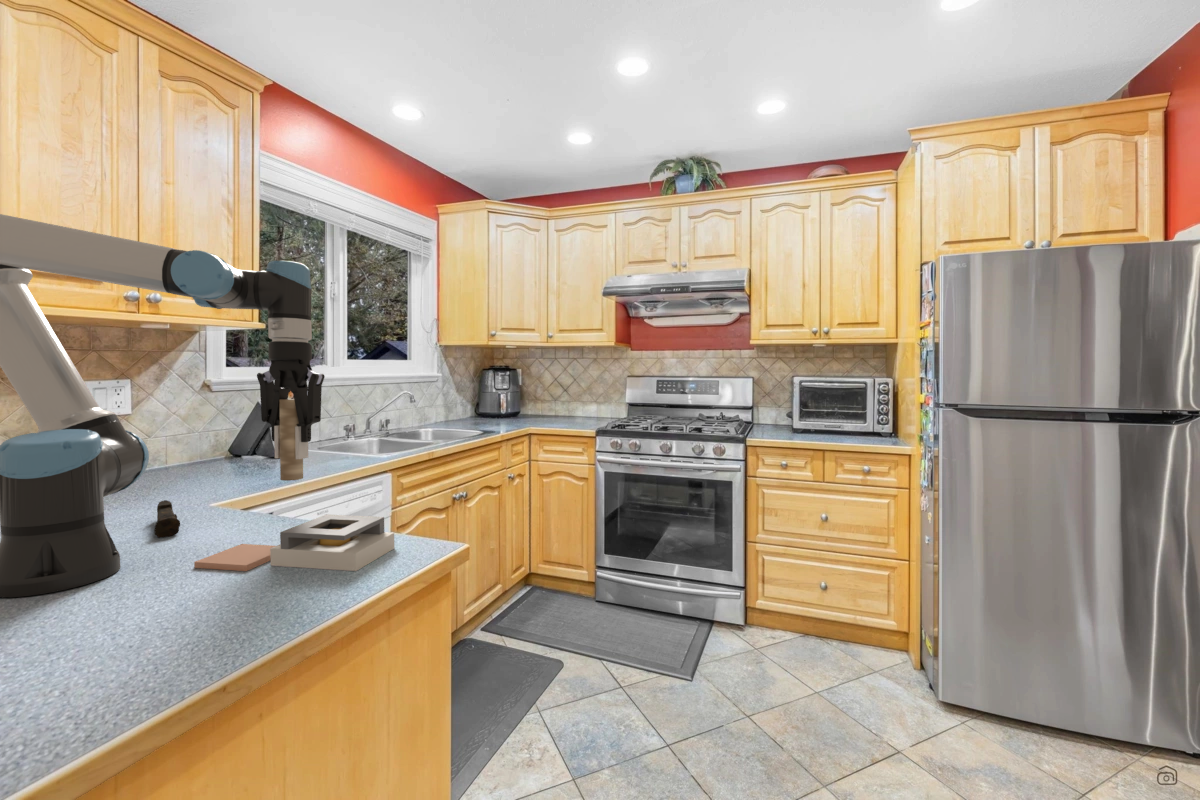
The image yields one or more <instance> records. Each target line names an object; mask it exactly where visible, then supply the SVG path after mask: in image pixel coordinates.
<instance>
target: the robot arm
mask: <svg viewBox="0 0 1200 800" xmlns="http://www.w3.org/2000/svg"><path fill="white" fill-rule="evenodd" d="M266 265H267V266H266V268H265V270H250V269H249V270H248V269H237V268H235V267H233V266H232V265H231V264H229V263H227V262H226V261H225V260H224V259H223V258H221V257H219V256H217V255H216V254H213V253H210V252H208V251H203V250H197V249H194V250H192V249H191V250H185V249H184V250H183V249H175V248H174V247H168V246H163V245H158V244H153V243H148V242H143V241H139V240H133V239H128V238H124V237H119V236H118V237H117V236H112V235H108V234H102V233H97V232H93V231H92V232H91V231H88V230H82V229H77V228H72V227H67V226H63V225H59V224H58V225H57V224H52V223H47V222H44V221H43V222H42V221H36V220H32V219H28V218H21V217H17V216H13V215H7V214H3V213H0V369H1V370H2V371H3V373H4V375H5V377H6V378H7V380H8V381H9V383H10V384H11V386H12V387H13V389H14V390H15V392H16V394H17V395H18V397H19V398H20V401H21V402H22V403H23V405H24V406H25V408H26V410H27V411H28V413H29V415H30V416H31V418H32V420H33V421H34V423H35V424H36V426H37V427H38V429H37V432H30V433H26V434H25V433H24V434H21V435H17V436H13V437H10V438H8V439H6V440H4V441H3V442H2V443H1V444H0V598H20V597H29V596H30V597H31V596H38V595H44V594H50V593H51V594H52V593H56V592H60V591H66V590H70V589H74V588H77V587H81V586H85V585H88V584H89V585H90V584H91V583H95V582H98V581H100V580H103V579H106V578H108V577H110V576H112V575H114V574H115V573H117V572H119V570H120V569H121V556H120V552H119V550H118V549H117V547H116V545H115V542H114V540H113V538H112V537H111V534H110V532H109V531H108V529H107V527H106V524H105V512H104V511H105V507H104V506H105V505H104V504H105V503H104V498H105V497H106V496H107V497H108V496H110V495H114V494H117V493H118V492H122V491H124V490H126V489H127V488H129V487H130V486H131V485H133V484H134V483H136V482H137V481H138V480H139V479H140V478H142V476H143V474H144V473H145V472H146V470H147V468H148V466H149V460H150V454H149V449H148V447H147V445H146V443H145V442H144V440H143V439H142V438H140V436H139V435H138V434H136V433H134V432H131V431H129V430H127V429H125V427H124V425H123V424H122V423H121V421H120V419H119V417H118V416H117V414H116V413H115V412H113V411H111V410H110V411H109V410H107V409H102V408H101V407H100V406H99V404H98V402H97V401H96V399H95V398H94V396H93V394H92V392H91V391H90V389H89V387H88V386H87V384H86V383H85V381H84V379H83V378H82V375H81V374H80V372H79V371H78V369H77V368H76V366H75V364H74V363H73V361H72V359H71V357H70V356H69V353H67V351H66V349H65V347H64V346H63V345H62V342H61V341H60V339H59V337H58V335H56V333H55V331H54V329H53V327H52V326H51V323H49V321H48V319H47V317H46V316H45V314H44V313H43V311H42V309H41V307H40V306H39V304H38V302H37V301H36V299H35V297H34V296H33V294H32V292H31V291H30V289H29V287H28V286H29V284H30V282H31V280H32V279H33V276H34V275H33V273H32V271H31V270H33V271H39V272H44V273H50V274H55V275H61V276H67V277H72V278H73V277H74V278H78V279H84V280H91V281H97V282H102V283H103V282H104V283H109V284H114V285H121V286H126V287H130V288H131V287H132V288H138V289H143V290H148V291H149V290H150V291H155V292H159V293H160V292H161V293H166V294H172V295H175V296H182V297H188V298H192V299H193V300H194V302H195V304H196V305H198V306H199V307H203V308H213V309H217V310H222V309H229V310H230V309H233V310H234V309H235V310H236V309H237V310H258V311H259V310H260V311H267V319H268V320H267V324H268V333H267V335H268V338H269V339H270V340H271V341H269V342H268V343H267V344H268V345H267V346H268V349H267V351H268V352H267V353H268V360H270V366H269V368H268V370H267V371H264V372H258V373H257V374H256V378H257V381H258V383H259V392H260V395H259V396H260V414H261V415H260V417H261V422H262V423H268V424H269V425H270V426H271V440H272V442H273V443H274V459H280V405H279V400H280V399H289V395H290V392H291V393H292V395H293V399H294V401H295V406H296V411H297V416H298V421H299V424H296V425H297V426H296V427H295V455H296V459H303V460H304V459H307V458H309V442H312V426H313V425H314V424H317V423H320V422H321V420H322V416H321V415H322V387H323V386H322V385H323V383H324V380H325V377H326V376H325V374H324V373H317V372H315V371H313V368H312V367H311V361H312V359H313V357H312V356H313V355H312V354H313V353H312V351H313V348H312V347H313V345H312V344H311V343H310V342H309V341H311V340H312V339H313V337H312V336H313V335H312V334H313V333H312V332H313V331H312V327H313V325H312V289H313V288H312V283H311V280H312V279H311V271H310V268H309V267H308V266H307V265H306V264H303V263H301V262H297V261H289V260H271V261H269V262H267V264H266ZM307 381H308V382H307Z"/></svg>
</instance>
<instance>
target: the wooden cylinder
mask: <svg viewBox="0 0 1200 800" xmlns="http://www.w3.org/2000/svg"><path fill="white" fill-rule="evenodd" d="M279 405H280V458H279V459H280V460H279V467H280V469H279V470H280V471H279V474H280V475H279V477H280V481H286V482H287V481H299V480H302V479H304V458H303V459H296V455H295V427H296V426H297V425H296V424H299V421H298V416H297V411H296V406H295V401H294V398H288V399H280V400H279Z"/></svg>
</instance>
